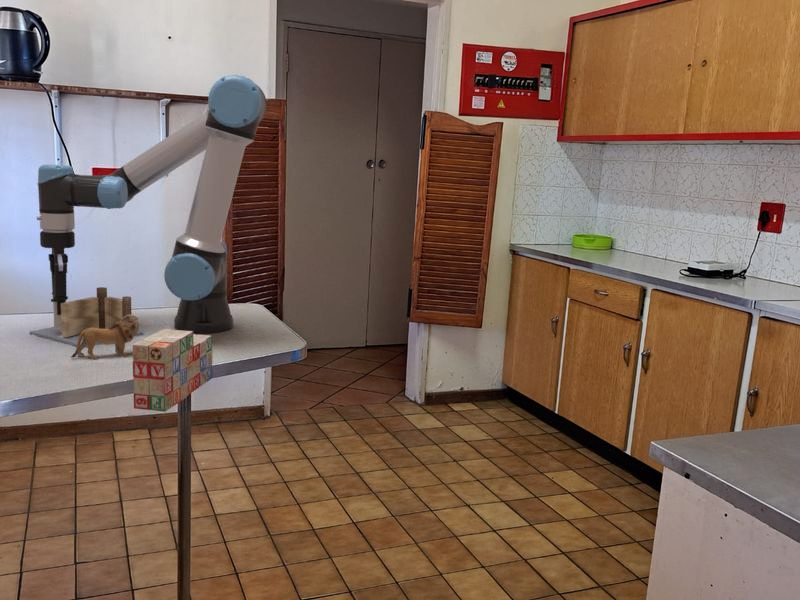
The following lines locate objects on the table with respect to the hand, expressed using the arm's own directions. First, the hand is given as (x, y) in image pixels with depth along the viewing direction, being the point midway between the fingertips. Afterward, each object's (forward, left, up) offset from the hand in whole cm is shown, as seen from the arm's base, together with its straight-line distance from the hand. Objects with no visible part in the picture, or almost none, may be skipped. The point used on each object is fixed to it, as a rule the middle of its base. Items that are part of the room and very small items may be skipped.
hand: (60, 326), depth 181 cm
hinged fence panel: (-5, -2, -1) cm, 5 cm away
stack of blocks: (-54, +13, -3) cm, 55 cm away
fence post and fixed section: (-8, -9, -2) cm, 13 cm away
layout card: (-4, -5, -2) cm, 6 cm away
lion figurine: (-23, +4, -2) cm, 23 cm away
